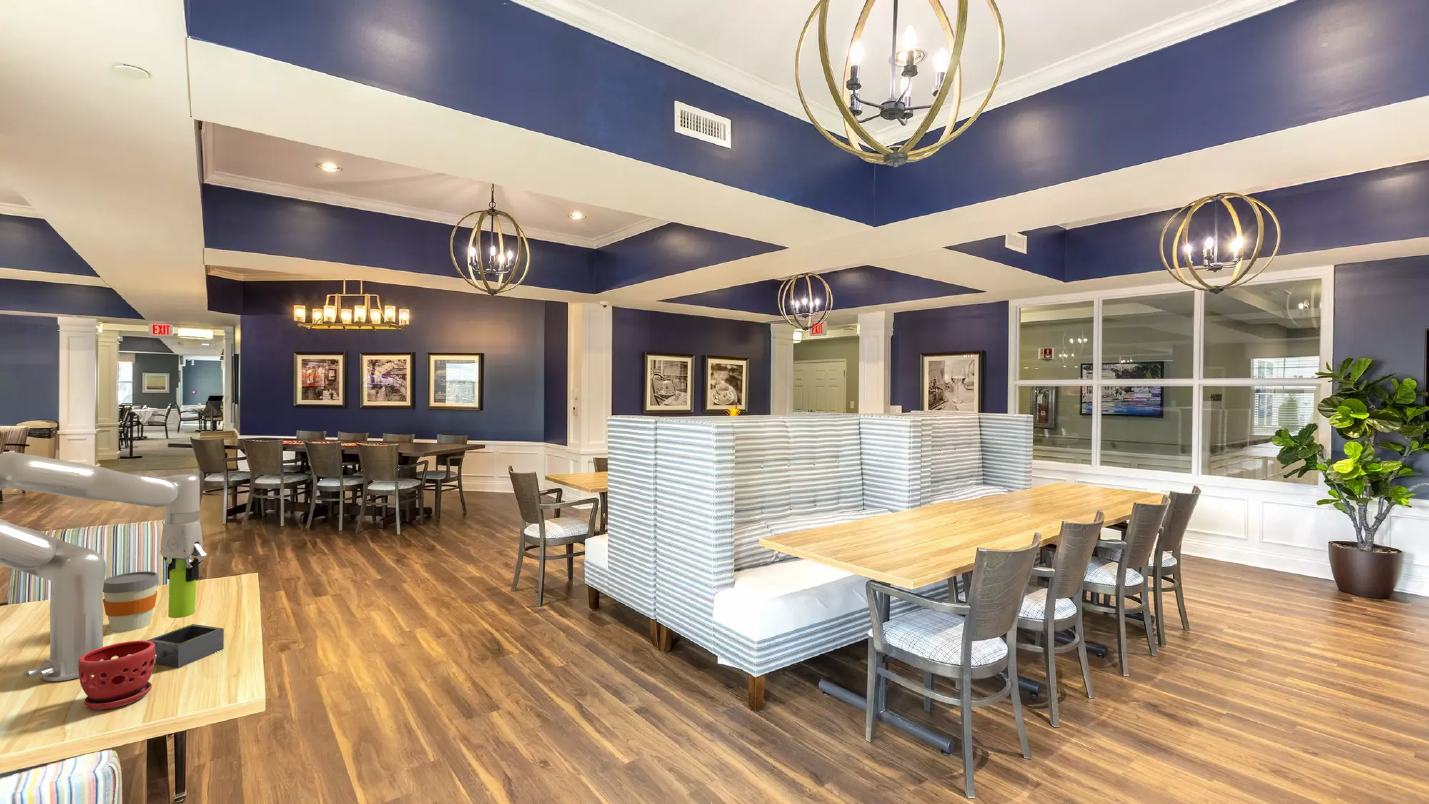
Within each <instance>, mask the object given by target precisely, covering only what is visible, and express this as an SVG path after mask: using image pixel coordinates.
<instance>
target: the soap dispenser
mask: <svg viewBox="0 0 1429 804" xmlns="http://www.w3.org/2000/svg"><path fill="white" fill-rule="evenodd" d="M186 568H188V566H187V563H186V560H185V559H176V568H175V569H172V570H170V576H169V579H168V581H169V582H168V584H169V585H168V586H169V587H168V610H167V611H168V615H167V616H168V618H169V619H170V618H171V619H181V618H185V617H190V616H192V615H194V614H195V613H196V589H197V587H196V586H197V580H193V581H190V582H186Z"/></svg>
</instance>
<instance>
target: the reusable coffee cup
mask: <svg viewBox="0 0 1429 804" xmlns="http://www.w3.org/2000/svg"><path fill="white" fill-rule="evenodd" d="M158 584H159V577H158V573H157V572H156V571H145V570H144V571H134V572H125V573H121V574H117V575H112V576H109V577H107V578H105V580H104V586H103V597H104V598H103V610H104V614H105V616H107V620H108V624H109V631H110V632H112V633H125V632H132V631H137V630H141V629H142V628H145V626H146V627H148V626H149V625H150V624H151V622H152V615H153V609H154V608H155V607H156V603H157V596H158V591H157V586H158ZM136 629H137V630H136Z"/></svg>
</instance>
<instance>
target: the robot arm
mask: <svg viewBox="0 0 1429 804" xmlns="http://www.w3.org/2000/svg"><path fill="white" fill-rule="evenodd" d="M200 483H201V482H200V477H199V476H198V475H197V474H192V473H191V474H190V473H188V474H187V473H185V474H175V475H170V476H143V475H138V474H132V473H128V472H122V471H117V470H113V469H109V468H106V467H103V466H102V467H101V466H96V465H93V464H87V463H80V462H76V461H75V462H74V461H69V460H63V459H57V458H53V457H52V458H51V457H46V456H40V455H34V454H26V453H22V452H16V451H13V452H11V451H9V452H4V453H0V492H1V491H2V490H5V489H8V488H9V489H13V490H19V491H20V490H21V491H27V492H34V493H42V494H49V495H57V496H63V497H64V496H65V497H70V498H77V499H78V498H79V499H86V500H93V501H107V502H108V501H109V502H118V503H122V504H131V505H137V506H143V507H144V506H146V507H152V508H162V507H165V522H164V523H163V527H162V530H161V531H162V532H161V541H160V550H159V553H160V555H161V556H162V557H163V560H164V561H165V565H166V567H167V568H166V570H167V571H166V573H167V575H166V576H167V577H166V578H167V580H169V576H170V570H172V569H175V568H176V559H185V560H186V563H187V566H188V568H186V582H190V581H193V580H196V581H197V580H199V578H200V576H199V572H200V570H199V569H200V568H199V567H200V566H201V563H202V562H203V561H204V559H205V558H206V556H207V553H206V552H205V551H204V550H203V549H204V541H203V531H202V530H203V529H202V525H201V522H200V521H201V518H200V517H201V516H200V514H201V513H200V512H201V510H200V507H201V505H200V502H201V501H200V500H201V499H200V497H201V495H200V491H201V489H200V485H201V484H200ZM192 559H193V560H192ZM0 566H2V567H5V568H8V569H13V570H16V571H19V572H22V573H25V574H29V575H31V576H36V577H39V578H40V579H44V580H48V581H50V582H52V583H53V585H52V592H51V595H50V603H49V655H50V656H49V658H47V659H46V658H45V659H44V663H43V664H41V665H40V666H38V667H34V668H31V669H28V670H26V671H24V672H23V676H24V678H25V679H26V680H28V679H30V678H33V677H36V676H39V677H40V678H41V679H42V680H43V681H45V682H62V681H69V680H75V679H79V671H78V661H79V658H80V657H81V656H83V655H84V654H86V653H88V652H91V651H93V650H96V649H99V648H102V647H104V642H103V641H104V639H103V638H104V634H103V633H104V630H103V627H104V619H103V616H104V615H103V614H104V612H103V611H104V603H103V599H104V598H103V597H104V592H103V586H104V580H105V579H106V574H107V562H106V560H105V558H104V556H102V555H101V553H99V552H98V551H96V550H93V549H92V548H87V547H84V546H80V545H76V544H74V543H71V542H67V541H65V540H62V539H60V538H56V537H53V536H51V535H48V534H45V533H44V532H42V531H39V530H36V529H33V528H30V527H26V526H19V525H17V524H14V523H12V522H9V521H6V520H5V519H2V518H0ZM100 661H104V660H103V659H101V660H100Z"/></svg>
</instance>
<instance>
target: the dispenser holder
mask: <svg viewBox="0 0 1429 804" xmlns="http://www.w3.org/2000/svg"><path fill="white" fill-rule="evenodd" d="M224 629H225V628H223V627H216V626H209V625H203V624H195V623H194V624H193V623H192V624H191V623H190V624H189V625H186V626H183V627H180V628H178V629H175V630H172V631H169V632H166V633H164V634H160V635H159V636H155V637H152V638H149V639H146V640H145V641H151V642H153V643H154V644H155V663H154V665H155V666H156V665H158V666H162V667H169V668H176V669H180V668H182V667H185V666H187V665H189V664H193V663H194V662H196V661H199V660H201V659H203V658H206V656H207V657H208V656H211V655H213V654H214V655H215V654H216V653H218V652H217V651H219V652H220V650H221V651H223V650H222V649H224V648H225V647H224V645H225V644H224V643H225V642H224V641H225V640H224V639H225V638H224V637H225V632H224V631H225V630H224ZM215 652H216V653H215ZM143 663H144V662H143Z"/></svg>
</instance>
